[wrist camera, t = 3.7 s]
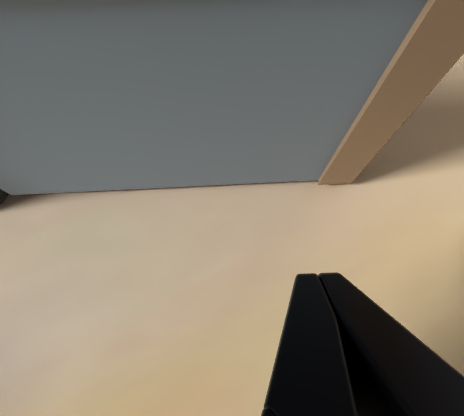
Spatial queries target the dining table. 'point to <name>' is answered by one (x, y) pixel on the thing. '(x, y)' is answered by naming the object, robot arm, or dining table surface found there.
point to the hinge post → (2, 195)
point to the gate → (211, 88)
